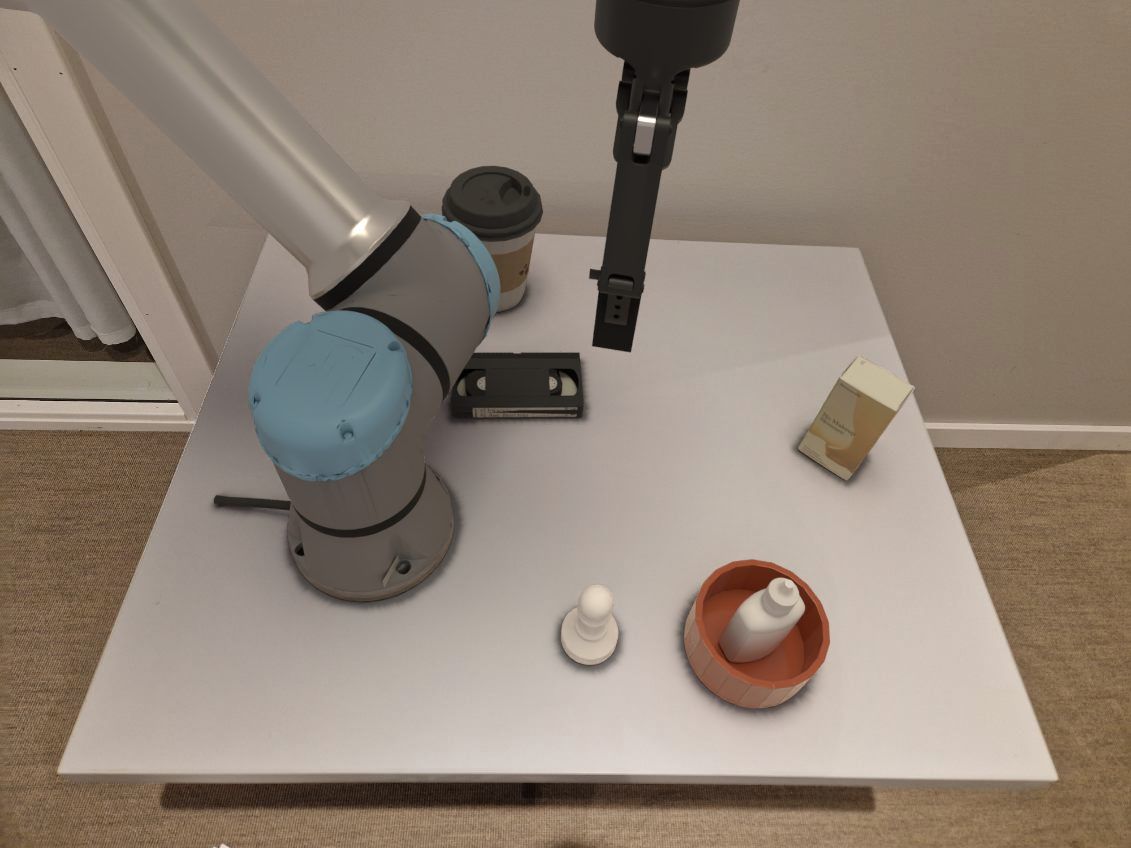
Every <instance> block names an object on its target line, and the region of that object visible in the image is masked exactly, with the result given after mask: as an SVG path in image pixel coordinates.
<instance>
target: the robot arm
mask: <svg viewBox="0 0 1131 848" xmlns="http://www.w3.org/2000/svg"><path fill="white" fill-rule="evenodd" d="M740 2H741V0H595V9H594V22H593V23H594V24H593V28H594V33H595V37H596V39H597V41H598V42H599V44H600V45H601V46H602V48H603V49H605V50H606V51H607V52H608V53H609V54H611V55H612V56H614V57H615V58H618V59H621V60H623V66H622V73H621V80H619V81H618V85H617V86H618V87H617V93H616V97H615V98H616V99H615V111H616V114H617V121H616V128H615V134H614V140H613V147H612V156H613V160H614V161H615V162H616V169H615V174H614V175H615V176H614V181H613V182H614V184H613V189H612V196H611V201H610V202H611V203H610V210H609V216H608V224H607V232H606V236H605V237H606V238H605V243H604V251H603V258H602V264H601V266H600V269H595V268H589V274H588V279H589V280H593V281H594V280H595V281H597V282H596V286H597V291H598V293H597V299H596V301H597V302H596V310H595V316H594V317H595V318H594V325H593V334H592V342H591V347H593V348H600V349H606V350H613V351H618V352H626V353H632V351H633V350H632V349H633V345H634V344H633V343H634V339H635V333H636V328H637V321H638V316H639V311H640V307H641V300H642V295H643V294H644V290H645V286H646V285H645V281H646V275H647V273H646V272H647V271H645V270H646V264H647V259H648V253H649V247H650V242H651V236H652V230H653V224H654V220H655V219H654V218H655V212H656V208H657V207H656V206H657V202H658V201H657V200H658V196H659V190H660V185H661V180H662V179H661V177H662V171H665V170H666V169H668V168H669V167H670V165H671V162H672V159H673V154H674V148H675V142H676V136H677V132H678V131H677V130H678V126H679V124H680V123H681V122H682V120H683V118H684V115H685V111H686V106H687V105H686V104H687V100H688V93H689V90H688V85H689V82H690V81H689V80H690V75H691V69H699V68H702V67H703V68H704V67H705V66H708V65H710V64H712V63H714V62H715V61H717V60H719V59H720V58H721V57H722V56H724V55H725V53H726V52H727V51H728V49H729V47H730V45H731V42H732V37H733V33H734V28H735V24H736V20H737V15H738V10H739V7H740ZM0 9H4V10H12V11H21V12H27V13H28V12H30V13H31V14H34V15H38V16H39V17H40V18H41V19H42V20H43V21H44V22H45V23H47V24H48V25H49V26H50V27H51V28H52V29H53V30H54V31H55V32H56V33H57V34H58V35H59V36H60V37H61V38H62V39H64V40H65V42H67V43H68V45H70V46H71V48H73V49H74V50H75V51H76V52H77V53H78V54H79V55H80V56H81V57H82V58H83V59H85V60H86V61H87V62H88V63H89V64H90V65H91V66H92V68H94V69H95V71H97V72H98V73H99V74H100V75H101V76H103V78H104V79H106V80H107V81H108V82H109V83H110V84H111V85H112V86H113V87H114V88H115V89H116V90H117V91H118V92H119V93H121V95H123V97H125V98H126V99H127V100H128V102H130V103H131V104H132V105H133V106H134V107H135V108H136V109H137V110H138V111H139V112H140V113H141V114H143V116H145V118H147V120H149V122H151V123H152V124H153V125H154V126H155V127H156V128H157V129H158V130H160V132H161V133H163V135H164V136H166V137H167V138H168V139H169V140H170V141H171V142H172V143H173V144H174V145H175V146H176V147H177V148H179V149H180V150H181V152H183V153H184V154H185V156H187V157H188V158H189V159H190V160H191V161H192V162H193V163H194V164H195V165H196V166H198V168H200V170H202V172H204V173H205V175H207V176H208V177H209V178H210V179H211V180H212V181H213V182H214V183H215V184H216V185H217V186H219V187H220V188H221V190H223V191H224V192H225V193H226V194H227V195H228V196H229V197H230V198H231V199H232V200H233V201H234V202H236V204H237V205H239V206H240V208H242V209H243V211H245V212H246V213H247V214H248V215H249V216H250V217H251V218H252V220H254V221H255V222H256V223H258V224H259V226H261V227H262V228H263V229H264V230H265V231H266V232H267V233H268V234H269V235H270V236H271V237H272V238H273V239H275V241H277V242H278V243H279V244H280V246H282V247H283V248H284V249H285V250H286V251H287V252H288V253H289V254H290V255H291V256H292V257H293V258H294V259H295V260H296V261H298V263H300V264H301V265H302V266H303V267H304V268H305V271H306V274H307V283H308V285H307V286H308V296H309V297H310V299H311V300H313V302H315V303H316V304H317V305H318V306H319V307H320V308H321V309H322V310H323V311H322V312H321V311H320V312H318V313H314V314H312V315H311V321H309V322H308V321H307V322H302V321H301V320H296V321H294V322H293V323H290V324H289V325H287V326H286V327H284V328H283V329H282V330H280V331H279V332H278V333H277V334H275V335H274V336H273V337H272V338H271V339H270V340H269V342H268V343H266V345H265V346H264V347H263V349H261V352H260V353H259V355H258V357H257V359H256V360H255V362H254V365H253V367H252V369H251V373H250V377H249V381H248V387H247V389H248V390H247V391H248V392H247V395H248V396H247V397H248V405H249V409H250V413H251V415H252V418H253V424H254V428H255V429H254V430H255V433H256V436H257V438H258V442H259V444H260V446H261V448H262V450H263V451H264V453H265V454H266V456H267V457H268V458H269V459H270V461H271V462H272V464H273V467H274V468H275V471H276V473H277V474H278V477H279V479H280V481H281V484H282V486H283V489H284V490H285V492H286V494H287V497H288V498H289V500H286V499H285V500H283V499H272V498H271V499H270V498H260V497H259V498H258V497H241V496H228V495H220V494H216V495H215V496H214V497H213V504H215V505H219V506H226V507H240V508H242V507H243V508H258V509H269V510H282V511H289V514H288V519H287V527H286V535H287V543H288V548H289V550H290V553H291V556H292V557H293V560H294V562H295V564H296V566H297V568H298V569H299V570H300V572H301V574H302V575H303V577H305V580H307V581H308V582H309V583H310V584H311V585H312V586H314V587H315V588H316V589H318V590H320V591H321V592H323V593H325V594H327V595H329V596H330V597H334V598H337V599H340V600H345V601H350V602H351V601H352V602H373V601H380V600H384V599H385V600H386V599H389V598H392V597H395V596H398V595H400V594H403V593H405V592H406V591H409V590H410V589H413V588H414V587H416V586H417V585H419V584H420V583H421V582H423V581H424V580H425V579H427V578H428V576H430V575H431V574H432V573H433V572H434V571H435V569H437V568H438V566H439V564H440V563H441V562H442V561H443V559H444V557H446V554H447V552H448V550H449V548H450V545H451V542H452V539H453V534H454V524H455V523H454V522H455V520H454V510H453V504H452V498H451V496H450V492H449V490H448V488H447V486H446V484H445V483H444V480H443V479H442V478H441V477H440V476H439V475H438V473H437V472H436V471H434V470H433V469H432V468H431V467H430V465H428V464H427V463H426V461H425V454H424V450H423V449H424V448H423V439H424V436H425V434H426V432H427V430H428V428H429V426H430V425H431V423H432V421H433V420H434V418H435V416H436V415H437V414H438V412H439V410H440V408H441V406H442V405H443V403H444V401H445V399H446V398H447V397H448V395H449V394H450V392H451V391H452V387H453V385H454V384H455V382H456V380H457V379H458V377H459V375H460V374H461V372H462V371H463V369H464V367H465V366H466V364H467V363H468V361H469V359H470V358H471V356H472V355H473V353H474V352H476V350H477V348H478V347H479V346H480V345H481V344H482V342H483V341H484V340H485V339H486V337H487V335H488V333H489V330H490V328H491V324H492V321H493V319H494V317H495V315H496V313H497V312H496V311H497V309H498V306H499V302H500V288H501V287H500V279H499V275H498V271H497V268H496V265H495V263H494V261H493V259H492V257H491V255H490V253H489V252H488V250H487V249H486V247H485V246H484V245H483V243H482V242H481V241H480V240H479V239H478V238H477V237H476V236H475V235H474V234H473V233H472V232H471V231H470V230H469V229H467V228H466V227H465V226H463V225H462V224H460V223H459V222H457V221H452V222H447V219H446V217H445V216H442V214H436V213H423V214H419V213H418V212H417V210H416V209H415V208H414V207H413V206H412V205H411V204H410V202H409V201H407V200H398V199H386V198H383V197H380V196H378V195H377V193H375V191H373V189H372V188H371V187H370V186H369V185H368V184H367V183H366V182H365V181H364V179H362V178H361V176H360V175H358V172H356V171H355V170H354V169H353V168H352V167H351V166H350V164H348V162H346V160H345V159H344V158H343V157H342V156H341V155H340V154H339V153H338V152H337V151H336V150H335V149H334V147H333V146H332V145H331V144H330V143H329V142H328V141H327V140H326V139H325V138H324V137H323V136H322V135H321V134H320V133H319V132H318V131H317V129H316V128H315V127H314V126H313V125H312V124H311V123H310V122H309V121H308V120H307V119H306V117H305V116H304V115H302V114H301V112H300V111H299V110H298V109H297V108H296V107H295V106H294V105H293V104H292V103H291V102H290V101H289V100H288V98H287V97H286V96H285V95H284V94H283V93H282V92H281V91H280V89H278V88H277V86H276V85H275V84H274V83H273V82H271V80H270V79H269V78H268V77H267V76H266V75H265V74H264V73H263V72H262V71H261V70H260V68H259V67H257V66H256V64H254V62H253V61H252V60H251V59H250V57H248V56H247V55H246V54H245V53H244V52H243V50H242V49H241V48H240V47H239V46H238V45H237V44H236V43H235V42H234V41H233V40H232V39H231V38H230V36H228V35H227V33H226V32H225V31H224V30H223V29H222V28H221V27H220V26H219V24H217V23H216V21H214V20H213V19H212V17H211V16H210V15H209V14H208V13H207V12H206V11H205V10H204V9H203V8H202V7H201V5H200V4H199V3H198V2H197V1H196V0H0Z"/></svg>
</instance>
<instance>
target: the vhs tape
mask: <svg viewBox="0 0 1131 848" xmlns="http://www.w3.org/2000/svg"><path fill="white" fill-rule="evenodd" d="M580 353H581V352H580V351H579V352H576V351H575V352H570V351H568V352H565V351H563V352H562V351H561V352H559V351H558V352H544V351H543V352H541V351H540V352H538V351H537V352H535V351H533V352H532V351H531V352H528V351H527V352H523V351H522V352H520V353H519V352H510V351H509V352H496V351H495V352H494V351H493V352H490V351H489V352H488V351H487V352H485V351H484V352H476V351H474V353H473V355H472V356H471V358H470V359H469V361H468V363H467V364H466V366H465V367H464V369H463V371H462V372H461V374H460V375H459V377H458V379H457V380H456V382H455V384H454V385H453V387H452V389H451V396H450V397H451V399H450V400H451V401H450V402H451V403H450V406H451V416H452V418H454V419H556V418H557V419H560V418H561V419H562V418H563V419H564V418H565V419H566V418H568V419H573V418H574V419H575V418H577V419H578V418H582V417H583V415H584V406H585V403H584V402H585V401H584V389H583V377H582V366H581V354H580Z"/></svg>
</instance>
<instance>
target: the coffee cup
mask: <svg viewBox="0 0 1131 848" xmlns="http://www.w3.org/2000/svg"><path fill="white" fill-rule="evenodd" d="M441 202H442V204H441V216H445V217H446V219H447V222H452V221H457V222H459V223H460V224H462V225H463V226H465V227H466V228H467V229H469V230H470V231H471V232H472V233H473V234H474V235H475V236H476V237H477V238H478V239H479V240H480V241H481V242H482V243H483V245H484V246H485V247H486V249H487V250H488V252H489V253H490V255H491V257H492V259H493V261H494V263H495V265H496V268H497V271H498V275H499V279H500V287H501V288H500V302H499V306H498V309H497V311H496V313H498V312H504V311H508V310H511V309H513V308H514V307H516V306H517V305H519V303H520V302H521V301H522V298H523V296H524V294H525V291H526V286H527V281H528V277H529V275H528V274H529V269H530V264H531V260H532V259H531V258H532V253H533V247H534V242H535V237H536V232H537V231H536V230H537V226H538V225H539V224H540V223H541V222H542V221H541V220H542V217H543V214H544V209H543V203H542V198H541V195H540V193H539V192H538V190H537V189H536V187H535V186H534V184H533V183H532V181H531V180H530V179H529V178H528V177H527V176H525V175H524V174H523V173H521V172H520V171H518V170H515V169H512V168H509V167H507V166H499V165H481V166H476V167H473V168H469V169H468V170H465V171H463V172H461V173H459V174H458V175H457V176H456V177H454V179H453V180H452V181H451V183H450V186H449V187H448V188H447V189H446V191H445V192H444V195H443V197H442V200H441Z"/></svg>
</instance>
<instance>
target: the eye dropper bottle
mask: <svg viewBox="0 0 1131 848" xmlns="http://www.w3.org/2000/svg"><path fill="white" fill-rule="evenodd" d="M804 611H805V605H804V602H803V600H802V599H801V597H800V595H799V591H798V589H797V586H796V585H795V584H794V583H793V581H791V580H788V579H785V578H776V579H774V580H772V581H771V582H770V583H769V585H768V587H767V588H766V589H763V590H760V591H758V592H756V593H755V594H753V595H751V596H750V597H749V598H747V599H746V600H745V601H744V602H743V603H742V604H741V605H740V607H739V608H738V609H737V611H736V612H735V614H734V615H733V617H732V619H731V620H730V622H729V624H728V625H727V627H726V629H725V630H724V632H723V634H722V635H721V637H720V639H719V644H720V646H721V648H722V650H723V652H724V654H725V656H726V658H727V659H728V660H729V661H731V662H734V663H746V662H752V661H756V660H759V659H761V658H763V657H765V656H767V655H769V654H770V653H771V652H773V651H774V650H775V649H776V648H777V647H778V646H779V645H780V644H781V642H782V641H783V640H784V638H785V637H786V636H787V635H788V633H789V632H790V631H791V629H792V628H793V627H794V626H795V624H796V623H797V622H798V620H799V619H800V618H801V616H802V615H803V613H804Z"/></svg>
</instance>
